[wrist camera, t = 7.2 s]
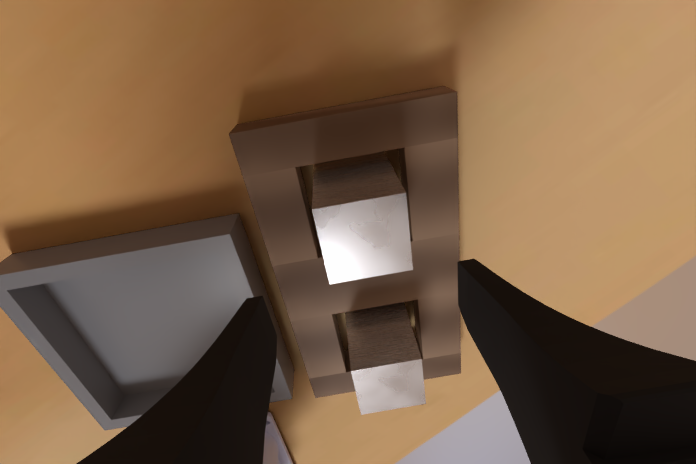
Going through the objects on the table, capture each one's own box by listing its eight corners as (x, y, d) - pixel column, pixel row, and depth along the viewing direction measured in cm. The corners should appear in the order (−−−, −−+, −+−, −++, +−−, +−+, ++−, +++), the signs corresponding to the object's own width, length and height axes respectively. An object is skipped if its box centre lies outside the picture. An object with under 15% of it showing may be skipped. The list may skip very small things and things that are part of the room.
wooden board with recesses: (452, 352, 29) (460, 373, 27) (315, 375, 29) (315, 397, 27) (444, 86, 19) (457, 91, 17) (237, 124, 19) (228, 133, 17)
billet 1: (391, 213, 22) (413, 269, 17) (327, 224, 22) (329, 284, 17) (383, 150, 20) (406, 192, 15) (313, 163, 20) (311, 209, 15)
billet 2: (405, 331, 27) (425, 403, 22) (353, 341, 27) (361, 414, 22) (400, 290, 25) (421, 358, 20) (344, 300, 25) (350, 371, 20)
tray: (294, 370, 28) (292, 398, 26) (121, 400, 29) (104, 430, 26) (238, 213, 21) (229, 234, 19) (11, 254, 22) (-24, 279, 20)
